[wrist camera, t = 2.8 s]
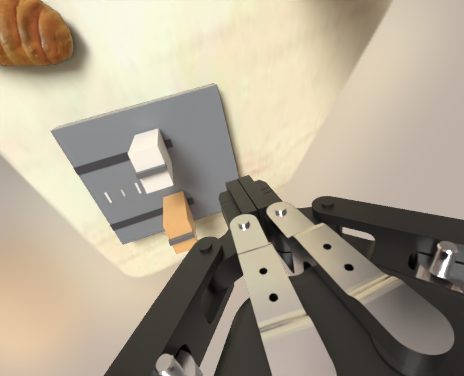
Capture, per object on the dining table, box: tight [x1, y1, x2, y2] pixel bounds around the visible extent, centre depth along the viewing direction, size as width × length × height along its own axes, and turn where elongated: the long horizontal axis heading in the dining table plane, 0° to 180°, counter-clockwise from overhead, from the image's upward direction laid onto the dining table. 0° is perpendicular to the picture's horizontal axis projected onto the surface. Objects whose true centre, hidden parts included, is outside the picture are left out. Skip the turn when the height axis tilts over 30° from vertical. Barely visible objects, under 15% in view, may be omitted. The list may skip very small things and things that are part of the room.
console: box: [51, 83, 239, 245], centre depth 28 cm, size 17×16×2 cm
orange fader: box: [163, 191, 198, 254], centre depth 27 cm, size 3×4×6 cm, turn 13°
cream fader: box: [128, 128, 174, 194], centre depth 23 cm, size 3×4×6 cm, turn 13°
